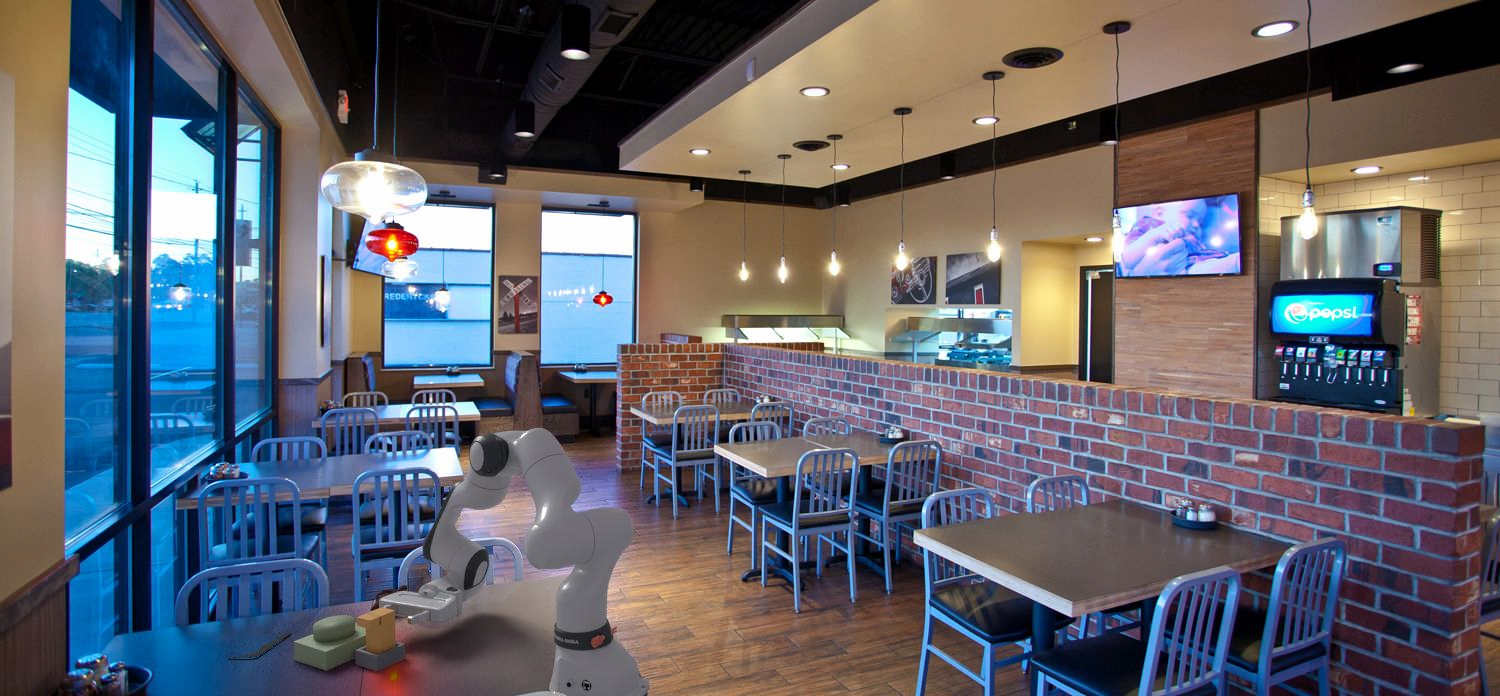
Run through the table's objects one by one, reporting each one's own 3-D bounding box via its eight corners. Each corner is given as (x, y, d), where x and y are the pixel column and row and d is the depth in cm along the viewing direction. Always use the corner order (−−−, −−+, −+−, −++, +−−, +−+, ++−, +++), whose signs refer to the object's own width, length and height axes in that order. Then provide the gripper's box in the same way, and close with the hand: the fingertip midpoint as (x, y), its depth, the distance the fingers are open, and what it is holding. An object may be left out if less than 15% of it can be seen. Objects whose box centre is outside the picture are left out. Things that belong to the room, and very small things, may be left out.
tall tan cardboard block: (395, 659, 183) (394, 610, 182) (371, 671, 177) (370, 620, 176) (382, 655, 185) (381, 607, 184) (357, 667, 179) (356, 617, 178)
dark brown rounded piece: (386, 601, 203) (419, 586, 218) (362, 592, 204) (396, 578, 219) (379, 626, 203) (413, 609, 218) (355, 617, 204) (390, 601, 219)
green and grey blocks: (409, 656, 185) (409, 625, 184) (356, 681, 172) (356, 648, 172) (348, 637, 195) (347, 608, 195) (294, 659, 182) (293, 629, 182)
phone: (293, 631, 198) (256, 657, 183) (293, 635, 198) (256, 660, 183) (264, 631, 198) (225, 657, 183) (264, 634, 198) (225, 660, 183)
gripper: (402, 581, 202) (360, 600, 189) (466, 591, 195) (427, 611, 182) (403, 605, 202) (361, 625, 189) (467, 615, 196) (428, 637, 183)
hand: (394, 618), depth 186 cm, fingers open, 8 cm apart
